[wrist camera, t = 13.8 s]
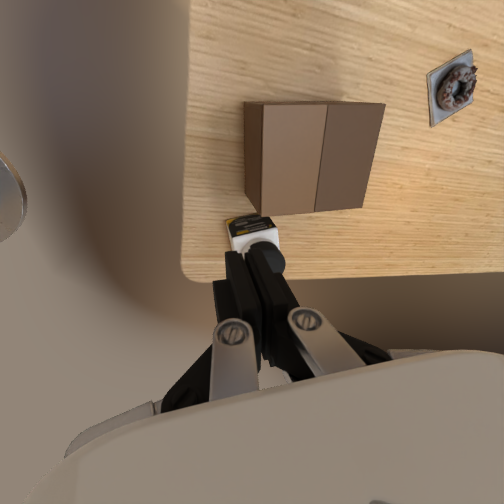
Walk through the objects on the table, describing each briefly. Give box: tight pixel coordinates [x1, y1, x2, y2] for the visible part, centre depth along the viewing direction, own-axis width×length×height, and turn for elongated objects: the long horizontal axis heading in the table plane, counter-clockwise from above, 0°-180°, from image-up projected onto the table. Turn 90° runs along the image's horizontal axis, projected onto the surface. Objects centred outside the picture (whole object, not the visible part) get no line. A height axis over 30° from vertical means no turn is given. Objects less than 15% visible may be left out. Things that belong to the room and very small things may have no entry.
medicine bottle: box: [226, 213, 285, 274], centre depth 42 cm, size 7×7×12 cm
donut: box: [427, 49, 478, 128], centre depth 41 cm, size 8×8×2 cm
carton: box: [244, 101, 386, 215], centre depth 37 cm, size 15×13×10 cm
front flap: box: [261, 104, 328, 217], centre depth 32 cm, size 7×13×1 cm, turn 0°
